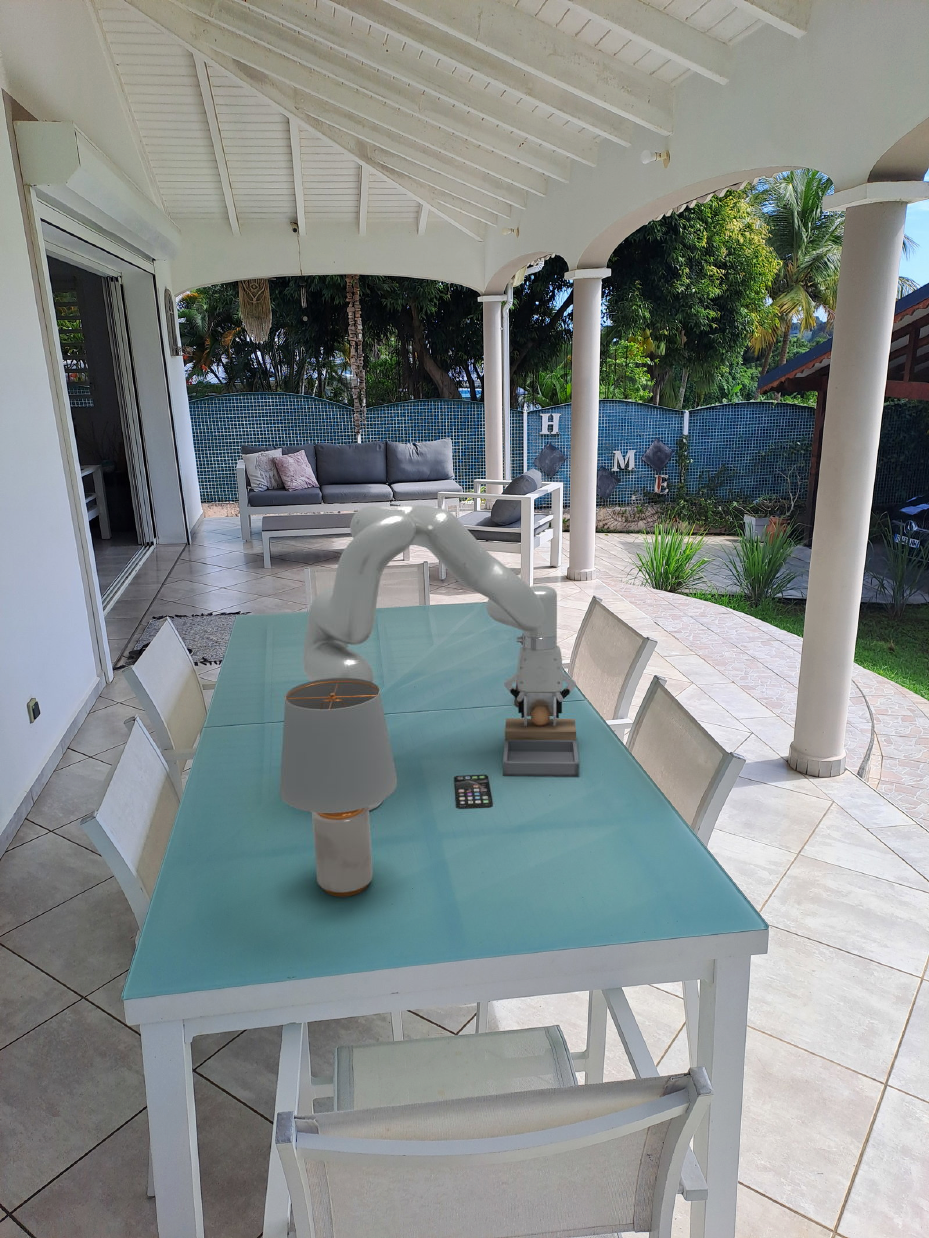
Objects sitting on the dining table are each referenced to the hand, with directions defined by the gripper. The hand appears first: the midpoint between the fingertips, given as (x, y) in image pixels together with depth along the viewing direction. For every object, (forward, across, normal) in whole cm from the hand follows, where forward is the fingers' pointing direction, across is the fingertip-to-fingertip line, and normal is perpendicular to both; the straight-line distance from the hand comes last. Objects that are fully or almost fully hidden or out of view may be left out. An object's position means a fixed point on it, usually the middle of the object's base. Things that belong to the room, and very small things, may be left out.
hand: (540, 715), depth 198 cm
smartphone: (+8, -14, -24) cm, 29 cm away
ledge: (+7, 0, 0) cm, 7 cm away
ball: (0, 0, 0) cm, 0 cm away
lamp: (+8, -33, -59) cm, 68 cm away
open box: (+1, 0, 0) cm, 1 cm away
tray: (+7, 0, -10) cm, 13 cm away
